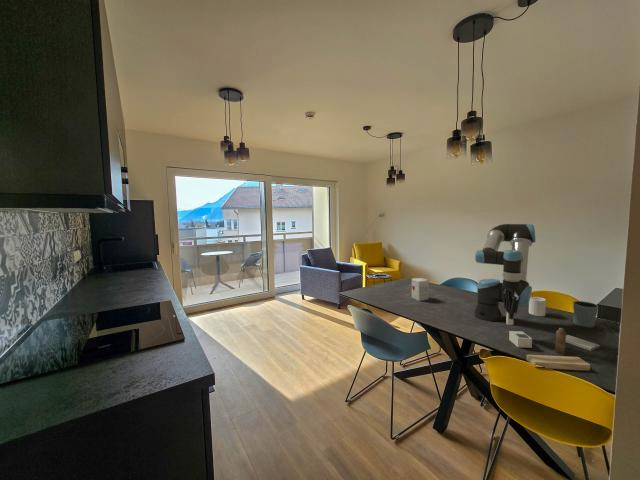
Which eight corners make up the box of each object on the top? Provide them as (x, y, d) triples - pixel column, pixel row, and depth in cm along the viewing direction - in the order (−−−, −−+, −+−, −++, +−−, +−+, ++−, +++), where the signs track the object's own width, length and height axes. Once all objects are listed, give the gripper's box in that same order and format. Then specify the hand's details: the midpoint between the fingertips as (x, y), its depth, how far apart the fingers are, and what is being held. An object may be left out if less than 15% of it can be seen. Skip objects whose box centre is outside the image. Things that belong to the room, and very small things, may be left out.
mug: (551, 313, 170) (552, 298, 169) (540, 317, 165) (541, 301, 164) (537, 309, 177) (537, 295, 176) (525, 312, 172) (526, 297, 171)
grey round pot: (578, 319, 159) (579, 300, 158) (601, 326, 150) (602, 305, 149) (567, 322, 156) (569, 302, 155) (590, 329, 146) (592, 308, 145)
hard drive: (600, 344, 128) (568, 334, 140) (590, 348, 125) (558, 337, 137) (600, 348, 128) (568, 337, 140) (590, 352, 125) (558, 340, 137)
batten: (526, 359, 119) (526, 354, 119) (578, 362, 116) (578, 357, 116) (534, 367, 113) (535, 361, 113) (589, 370, 110) (590, 364, 110)
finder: (509, 339, 138) (509, 330, 137) (522, 340, 137) (522, 330, 136) (517, 347, 130) (518, 337, 129) (531, 347, 129) (532, 338, 128)
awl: (553, 350, 126) (554, 326, 125) (561, 351, 126) (562, 327, 124) (558, 354, 123) (559, 330, 122) (566, 355, 122) (568, 330, 121)
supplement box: (411, 297, 210) (411, 278, 208) (420, 296, 212) (421, 277, 211) (418, 301, 201) (418, 281, 199) (428, 299, 204) (429, 280, 202)
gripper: (497, 277, 147) (496, 319, 149) (510, 283, 134) (508, 328, 136) (512, 277, 146) (510, 319, 148) (526, 283, 133) (524, 329, 135)
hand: (509, 324), depth 142 cm, fingers closed
